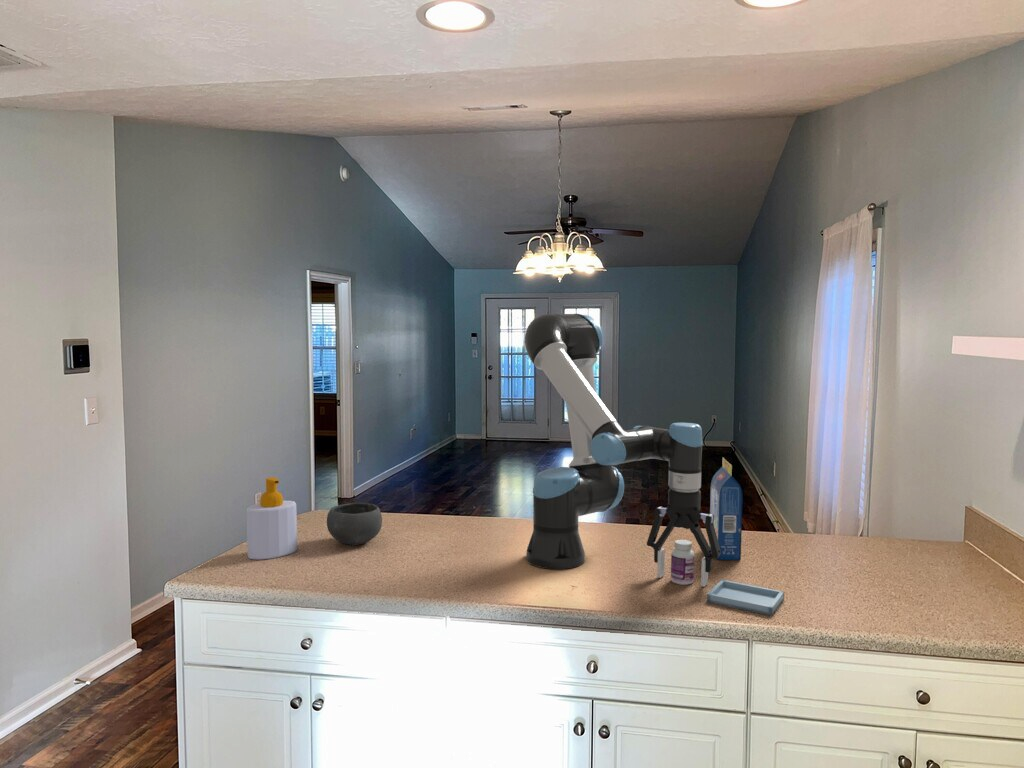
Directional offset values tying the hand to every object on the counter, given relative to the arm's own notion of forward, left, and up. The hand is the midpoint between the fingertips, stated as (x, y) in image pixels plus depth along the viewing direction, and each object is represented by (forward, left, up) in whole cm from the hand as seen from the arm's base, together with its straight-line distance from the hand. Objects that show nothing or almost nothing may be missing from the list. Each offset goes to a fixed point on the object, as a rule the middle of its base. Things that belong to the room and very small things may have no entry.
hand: (682, 580), depth 175 cm
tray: (+16, -4, 0) cm, 16 cm away
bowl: (-87, -21, -1) cm, 90 cm away
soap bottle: (-98, -40, 0) cm, 106 cm away
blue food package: (+2, +27, -1) cm, 27 cm away
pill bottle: (0, 0, 0) cm, 0 cm away
